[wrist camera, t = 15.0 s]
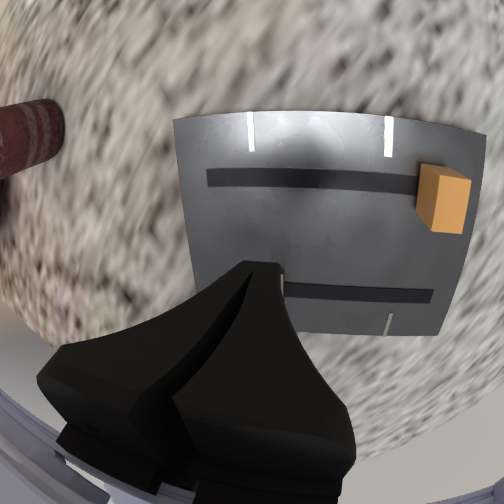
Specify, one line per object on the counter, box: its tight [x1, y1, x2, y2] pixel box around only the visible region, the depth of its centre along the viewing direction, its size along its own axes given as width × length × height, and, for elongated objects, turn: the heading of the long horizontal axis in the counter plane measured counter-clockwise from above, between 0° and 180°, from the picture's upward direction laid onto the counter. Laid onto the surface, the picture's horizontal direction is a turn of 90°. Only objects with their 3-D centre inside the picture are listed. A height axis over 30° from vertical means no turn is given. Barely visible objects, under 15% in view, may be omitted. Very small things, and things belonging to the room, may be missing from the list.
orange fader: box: [416, 163, 471, 234], centre depth 13 cm, size 3×2×3 cm, turn 3°
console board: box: [173, 111, 487, 337], centre depth 19 cm, size 16×20×2 cm
